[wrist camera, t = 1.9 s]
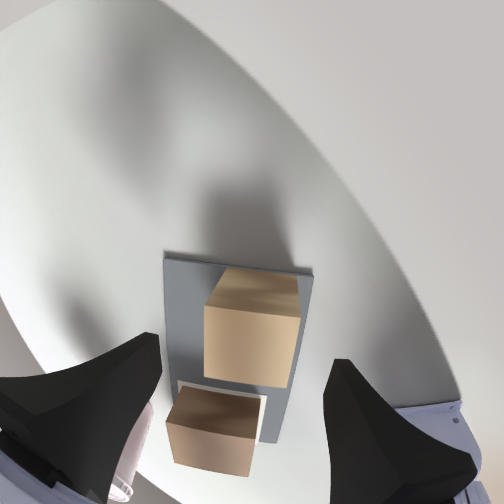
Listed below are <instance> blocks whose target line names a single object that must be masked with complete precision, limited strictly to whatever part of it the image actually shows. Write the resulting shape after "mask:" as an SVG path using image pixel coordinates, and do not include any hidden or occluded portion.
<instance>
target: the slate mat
mask: <svg viewBox="0 0 504 504" xmlns="http://www.w3.org/2000/svg"><path fill="white" fill-rule="evenodd" d="M227 267H229V268H237V269H245V270H254V271H262V272H271V273H279V274H288V275H297V283H298V293H299V303H300V313H301V320H300V326H299V331H298V336H297V341H296V346H295V351H294V356H293V361H292V365H291V370H290V374H289V379H288V383H287V388H278V387H269V386H260V385H253V384H245V383H238V382H232V381H225V380H220V379H214V378H208V377H204V305H205V303H206V302H207V300H208V298H209V297H210V295H211V293H212V292H213V290H214V288H215V287H216V285H217V283H218V282H219V280H220V278H221V277H222V275H223V273H224V272H225V270H226V268H227ZM163 271H164V302H165V321H166V336H167V349H168V360H169V370H170V379H171V388H172V396H173V404H174V403H175V400H176V398H177V396H178V394H179V392H180V390H181V388H182V386H183V385H184V386H188V387H193V388H198V389H202V390H208V391H213V392H219V393H224V394H230V395H237V396H244V397H251V398H259V399H261V404H260V411H259V419H258V426H257V433H256V440H255V444H258V442H266V443H277V440H278V436H279V433H280V429H281V426H282V422H283V418H284V414H285V410H286V407H287V403H288V399H289V395H290V391H291V387H292V382H293V378H294V374H295V370H296V365H297V361H298V356H299V352H300V347H301V342H302V338H303V333H304V328H305V323H306V318H307V312H308V307H309V302H310V296H311V291H312V285H313V279H314V276H313V275H309V274H300V273H291V272H282V271H274V270H265V269H257V268H248V267H240V266H232V265H224V264H215V263H207V262H200V261H192V260H184V259H176V258H169V257H165V258H164V259H163Z"/></svg>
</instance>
